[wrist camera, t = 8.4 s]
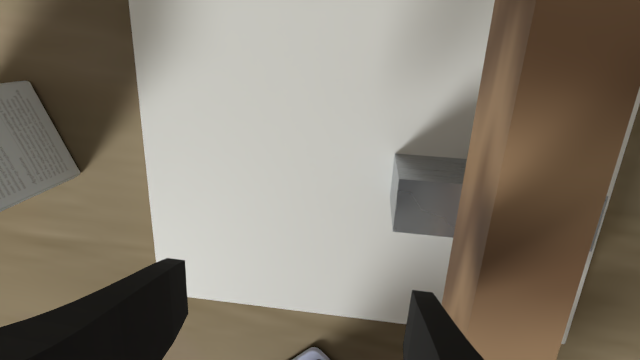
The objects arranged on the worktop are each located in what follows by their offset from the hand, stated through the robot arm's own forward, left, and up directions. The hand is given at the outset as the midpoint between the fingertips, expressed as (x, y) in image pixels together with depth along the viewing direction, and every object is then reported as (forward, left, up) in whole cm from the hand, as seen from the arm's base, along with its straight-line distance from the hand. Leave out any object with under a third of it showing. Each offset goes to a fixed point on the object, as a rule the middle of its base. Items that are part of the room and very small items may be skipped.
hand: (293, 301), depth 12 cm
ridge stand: (0, -2, -10) cm, 11 cm away
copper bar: (-4, -6, -5) cm, 9 cm away
